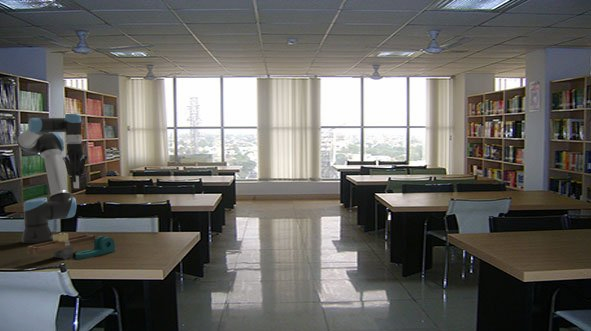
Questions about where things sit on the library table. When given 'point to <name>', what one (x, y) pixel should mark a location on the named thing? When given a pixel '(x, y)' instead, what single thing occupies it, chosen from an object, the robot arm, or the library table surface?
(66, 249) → the brown long open piece
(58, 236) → the block
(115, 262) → the library table surface
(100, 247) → the bracket
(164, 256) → the library table surface
